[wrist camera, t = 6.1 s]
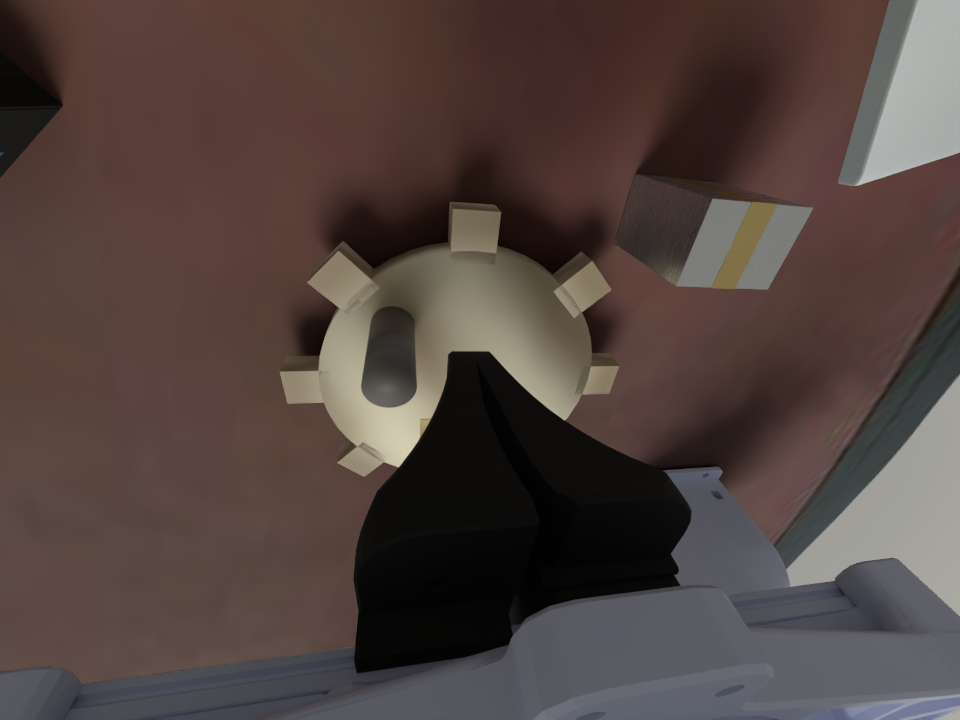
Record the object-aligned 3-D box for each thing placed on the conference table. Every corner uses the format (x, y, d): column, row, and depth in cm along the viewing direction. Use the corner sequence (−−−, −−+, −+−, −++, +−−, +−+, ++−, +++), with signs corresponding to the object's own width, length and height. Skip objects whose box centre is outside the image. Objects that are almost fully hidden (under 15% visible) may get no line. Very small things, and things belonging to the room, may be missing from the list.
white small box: (715, 181, 17) (814, 207, 13) (687, 248, 19) (767, 290, 15) (635, 173, 16) (713, 198, 12) (614, 243, 18) (675, 286, 14)
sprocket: (480, 101, 13) (518, 102, 9) (658, 366, 21) (723, 434, 17) (211, 373, 17) (145, 467, 13) (448, 506, 26) (457, 591, 21)
